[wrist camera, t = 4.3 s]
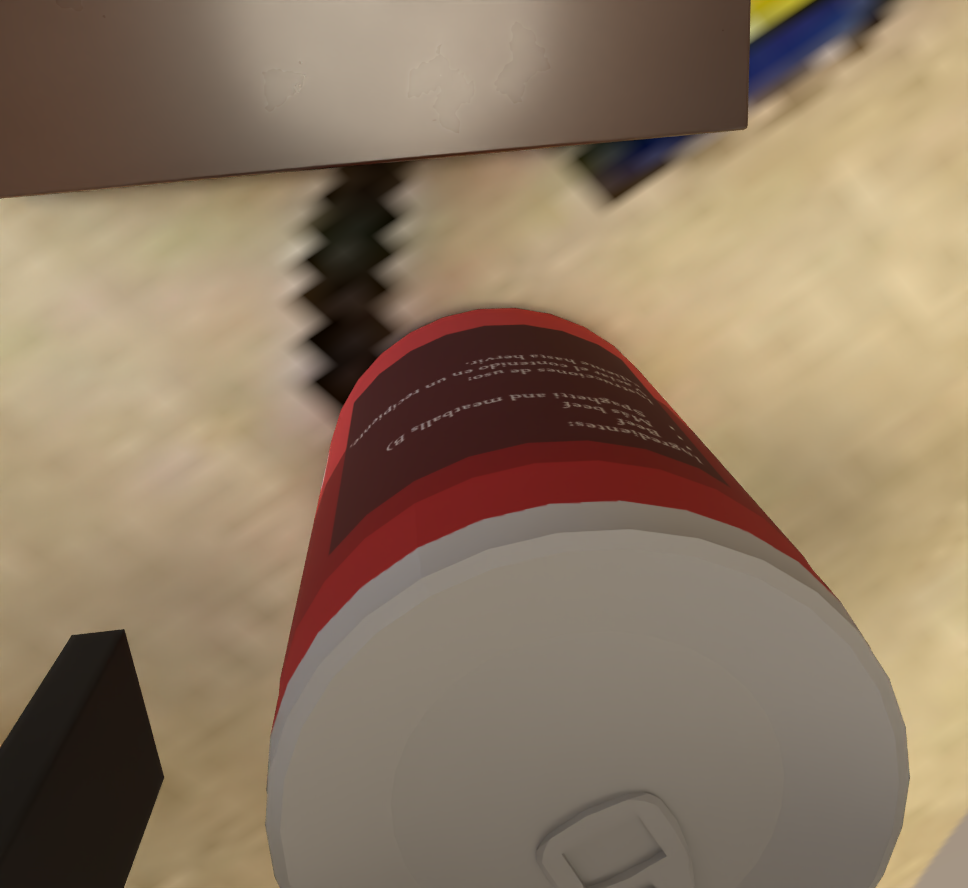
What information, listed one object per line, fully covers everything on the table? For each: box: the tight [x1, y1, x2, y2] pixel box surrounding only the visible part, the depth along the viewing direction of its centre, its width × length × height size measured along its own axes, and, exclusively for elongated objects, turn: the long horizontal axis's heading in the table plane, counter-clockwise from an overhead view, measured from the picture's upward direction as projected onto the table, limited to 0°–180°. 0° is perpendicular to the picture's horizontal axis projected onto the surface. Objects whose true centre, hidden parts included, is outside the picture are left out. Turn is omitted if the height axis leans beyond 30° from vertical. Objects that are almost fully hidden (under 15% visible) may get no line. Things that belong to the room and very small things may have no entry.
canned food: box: [265, 308, 910, 888], centre depth 16 cm, size 8×8×11 cm
